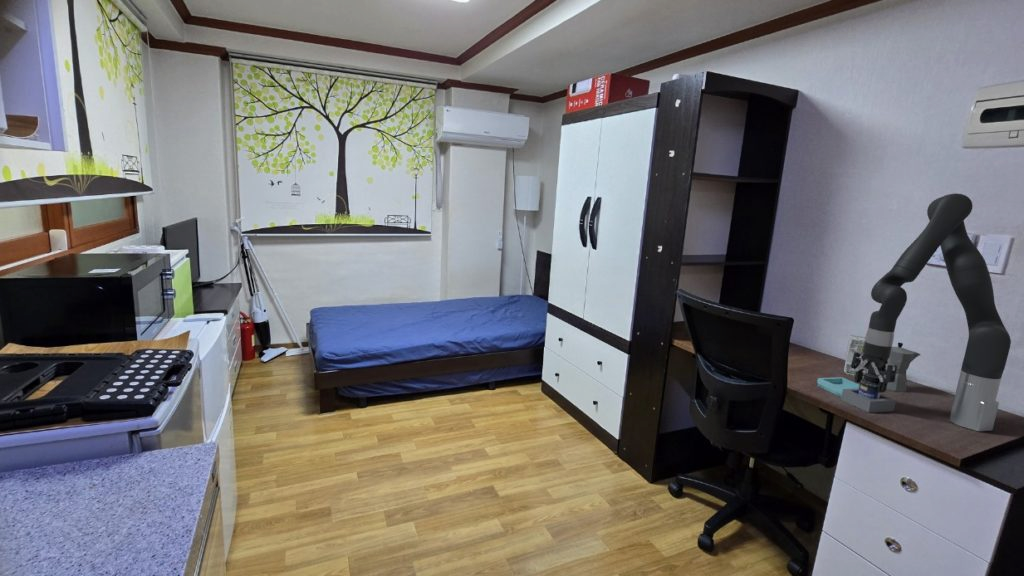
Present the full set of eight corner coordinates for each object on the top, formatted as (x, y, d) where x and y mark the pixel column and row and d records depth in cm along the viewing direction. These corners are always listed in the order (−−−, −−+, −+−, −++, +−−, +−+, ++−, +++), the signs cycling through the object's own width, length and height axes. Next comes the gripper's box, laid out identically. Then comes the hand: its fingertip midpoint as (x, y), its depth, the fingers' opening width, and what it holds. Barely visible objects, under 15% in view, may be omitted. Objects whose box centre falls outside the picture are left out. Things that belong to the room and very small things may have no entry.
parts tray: (866, 396, 174) (868, 388, 173) (841, 397, 172) (843, 389, 171) (840, 384, 184) (841, 377, 184) (816, 385, 182) (818, 378, 182)
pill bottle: (853, 404, 166) (859, 374, 164) (858, 400, 170) (864, 370, 168) (875, 410, 161) (881, 379, 159) (879, 406, 165) (885, 376, 163)
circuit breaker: (865, 368, 205) (871, 335, 203) (866, 378, 194) (873, 342, 191) (844, 364, 209) (850, 331, 207) (844, 373, 198) (850, 338, 195)
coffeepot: (908, 386, 186) (917, 342, 183) (917, 395, 177) (927, 348, 174) (860, 379, 192) (869, 336, 188) (867, 387, 183) (876, 342, 180)
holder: (893, 411, 162) (895, 400, 161) (868, 412, 159) (870, 401, 159) (865, 398, 172) (867, 387, 171) (840, 399, 169) (842, 389, 169)
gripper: (908, 348, 156) (897, 395, 159) (868, 335, 169) (859, 379, 172) (889, 349, 154) (879, 396, 157) (850, 336, 168) (842, 379, 171)
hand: (869, 387), depth 165 cm, fingers open, 8 cm apart
